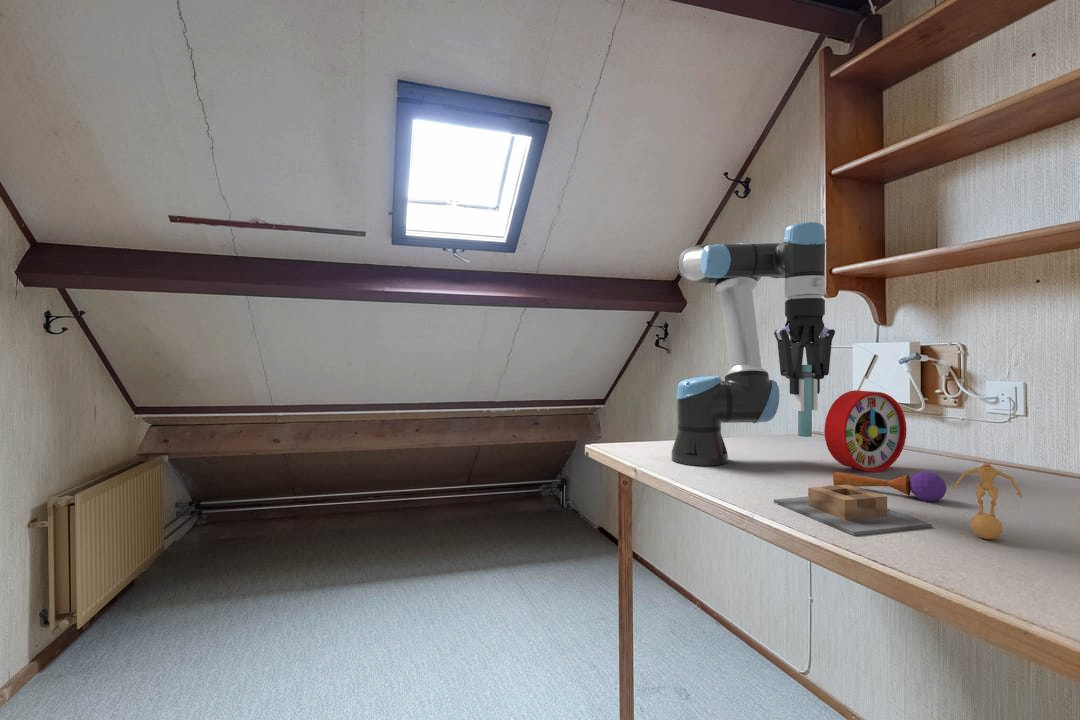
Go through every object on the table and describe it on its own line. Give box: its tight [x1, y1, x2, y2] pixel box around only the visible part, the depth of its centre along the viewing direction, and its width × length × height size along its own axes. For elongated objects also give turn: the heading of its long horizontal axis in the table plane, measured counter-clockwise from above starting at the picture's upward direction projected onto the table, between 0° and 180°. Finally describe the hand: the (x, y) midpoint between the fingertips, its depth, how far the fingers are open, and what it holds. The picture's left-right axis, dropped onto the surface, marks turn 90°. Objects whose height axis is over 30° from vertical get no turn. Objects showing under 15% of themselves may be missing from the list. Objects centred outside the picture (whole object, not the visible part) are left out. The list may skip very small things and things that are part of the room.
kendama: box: [832, 470, 948, 503], centre depth 112 cm, size 6×6×20 cm
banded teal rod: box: [797, 364, 813, 438], centre depth 112 cm, size 3×3×15 cm
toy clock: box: [823, 389, 907, 473], centre depth 134 cm, size 20×6×20 cm, turn 106°
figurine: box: [954, 461, 1023, 540], centre depth 86 cm, size 8×6×12 cm
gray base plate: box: [773, 484, 933, 536], centre depth 99 cm, size 20×16×4 cm
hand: (804, 409), depth 112 cm, fingers closed on banded teal rod, 2 cm apart
